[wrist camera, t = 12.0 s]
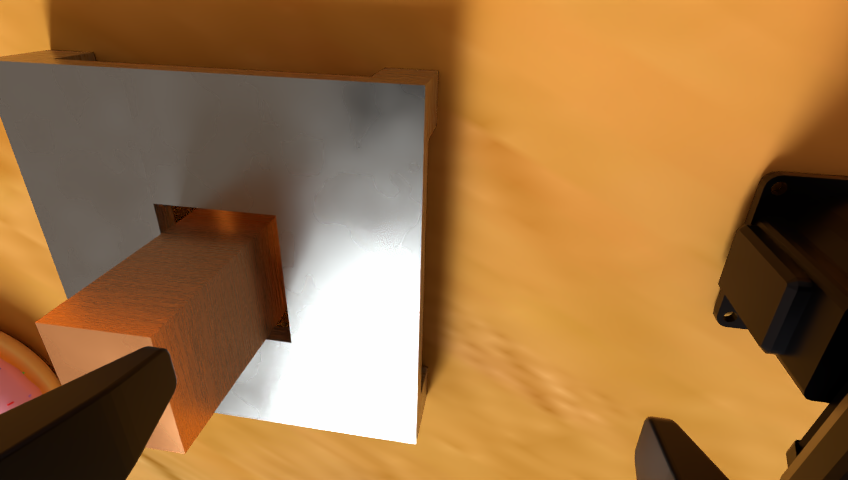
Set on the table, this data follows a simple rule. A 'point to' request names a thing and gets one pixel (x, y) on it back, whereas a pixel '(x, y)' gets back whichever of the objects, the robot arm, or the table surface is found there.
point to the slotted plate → (251, 208)
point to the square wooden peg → (179, 313)
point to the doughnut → (22, 374)
